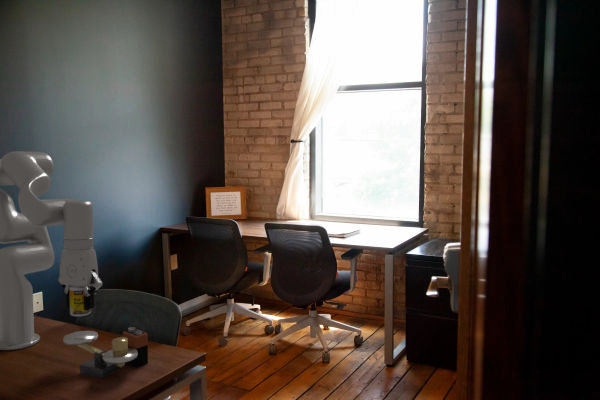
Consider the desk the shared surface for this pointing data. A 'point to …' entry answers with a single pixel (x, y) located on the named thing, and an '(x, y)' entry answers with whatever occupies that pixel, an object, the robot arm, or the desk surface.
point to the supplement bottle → (77, 301)
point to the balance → (98, 355)
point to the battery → (137, 346)
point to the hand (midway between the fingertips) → (80, 307)
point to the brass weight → (120, 346)
